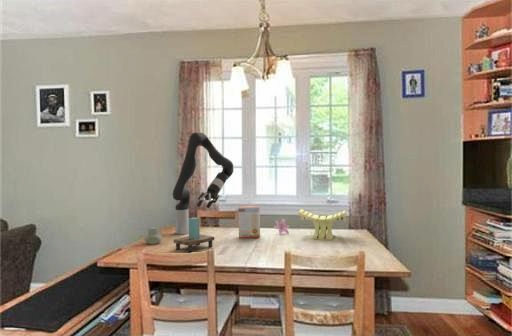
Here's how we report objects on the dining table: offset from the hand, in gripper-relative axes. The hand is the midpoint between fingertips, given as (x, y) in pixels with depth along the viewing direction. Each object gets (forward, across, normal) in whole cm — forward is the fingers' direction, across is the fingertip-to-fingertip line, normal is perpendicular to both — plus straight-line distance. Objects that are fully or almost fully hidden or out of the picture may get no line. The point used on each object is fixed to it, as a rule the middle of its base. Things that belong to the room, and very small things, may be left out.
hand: (202, 206), depth 248 cm
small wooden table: (+22, 0, +12) cm, 25 cm away
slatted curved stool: (-30, +45, +64) cm, 84 cm away
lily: (-25, +16, +60) cm, 67 cm away
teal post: (+18, 0, +8) cm, 19 cm away
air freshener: (+27, -31, +7) cm, 42 cm away
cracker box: (-9, +6, +43) cm, 45 cm away
